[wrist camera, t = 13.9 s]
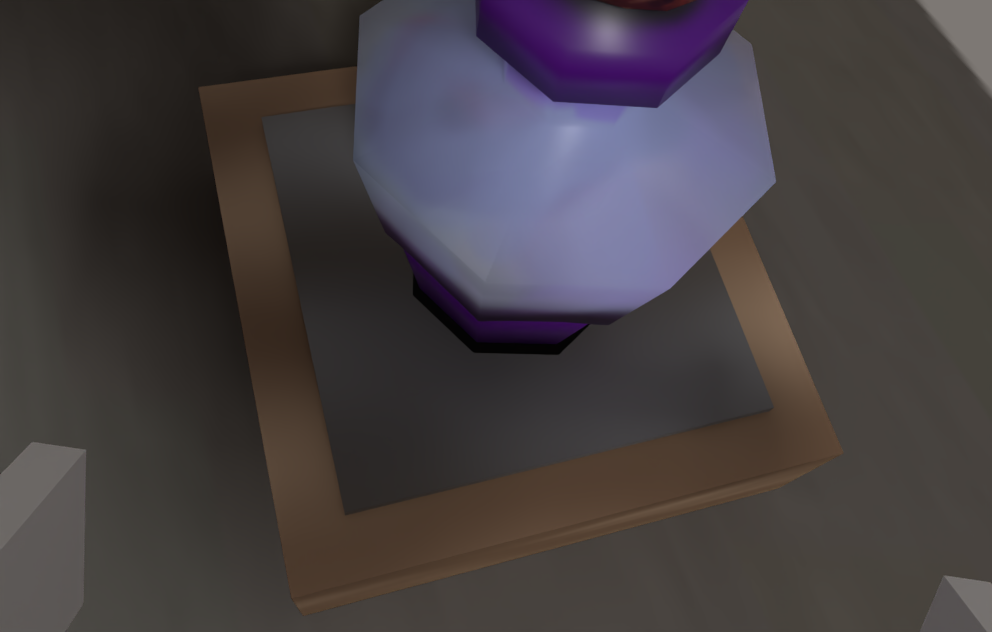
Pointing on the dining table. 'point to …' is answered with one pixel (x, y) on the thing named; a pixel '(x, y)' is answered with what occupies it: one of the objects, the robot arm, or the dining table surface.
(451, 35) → the potion bottle
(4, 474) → the robot arm
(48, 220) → the dining table surface
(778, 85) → the dining table surface
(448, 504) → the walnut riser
